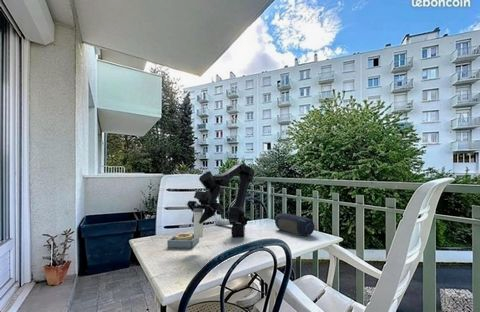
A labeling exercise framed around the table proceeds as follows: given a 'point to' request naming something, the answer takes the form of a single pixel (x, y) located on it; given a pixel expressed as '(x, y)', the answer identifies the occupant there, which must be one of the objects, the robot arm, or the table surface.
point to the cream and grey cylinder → (197, 226)
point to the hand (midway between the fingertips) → (196, 222)
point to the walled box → (182, 241)
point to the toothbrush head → (223, 222)
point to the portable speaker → (294, 224)
